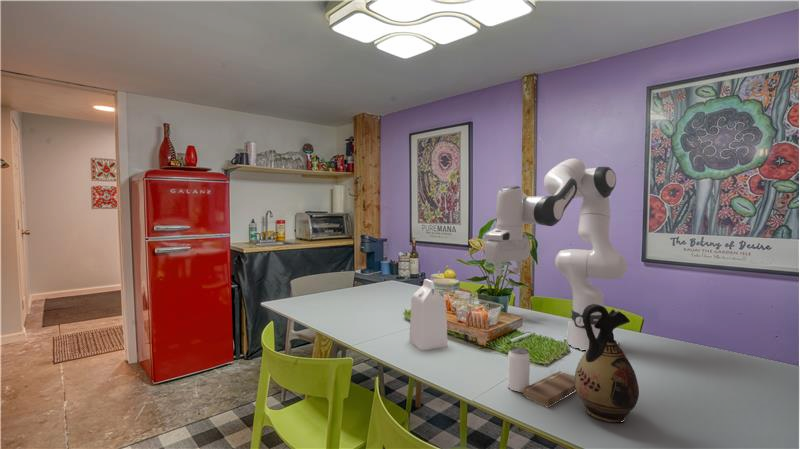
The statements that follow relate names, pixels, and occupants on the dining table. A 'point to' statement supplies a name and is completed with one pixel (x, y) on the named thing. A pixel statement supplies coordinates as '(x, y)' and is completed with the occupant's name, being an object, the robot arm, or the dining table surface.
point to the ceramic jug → (605, 369)
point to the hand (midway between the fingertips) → (508, 274)
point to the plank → (551, 388)
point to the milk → (428, 318)
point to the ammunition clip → (475, 326)
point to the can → (518, 368)
